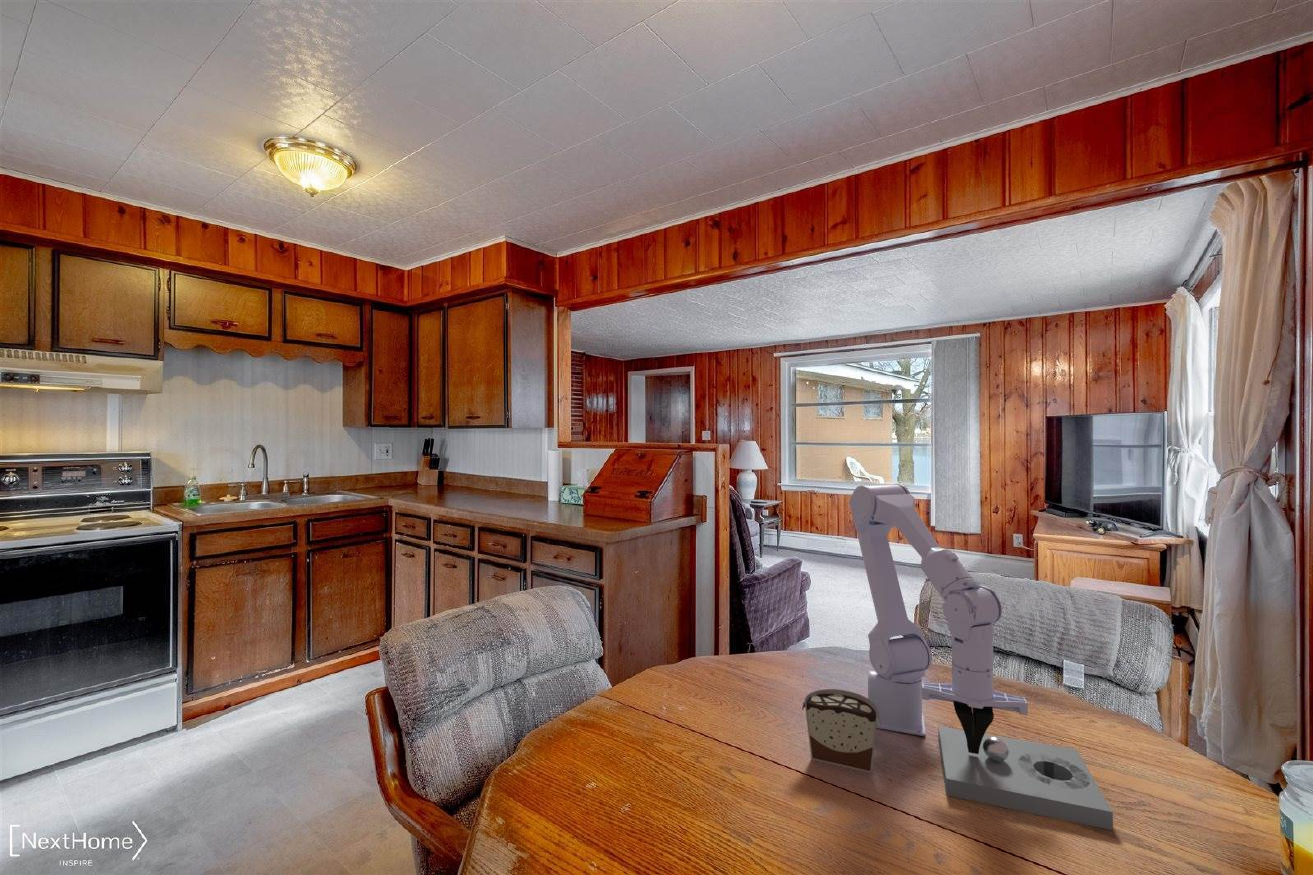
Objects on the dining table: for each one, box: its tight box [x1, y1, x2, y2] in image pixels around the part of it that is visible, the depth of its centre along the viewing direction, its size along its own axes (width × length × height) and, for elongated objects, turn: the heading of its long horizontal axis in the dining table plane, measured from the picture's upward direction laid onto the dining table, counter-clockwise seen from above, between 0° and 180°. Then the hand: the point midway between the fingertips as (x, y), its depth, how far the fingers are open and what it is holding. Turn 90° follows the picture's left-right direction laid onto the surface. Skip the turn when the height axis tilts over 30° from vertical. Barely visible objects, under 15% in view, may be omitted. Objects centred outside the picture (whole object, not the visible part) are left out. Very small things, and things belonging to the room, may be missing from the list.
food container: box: [801, 688, 881, 774], centre depth 94 cm, size 12×6×10 cm, turn 65°
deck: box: [937, 725, 1114, 831], centre depth 87 cm, size 20×16×2 cm
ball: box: [983, 735, 1009, 762], centre depth 88 cm, size 4×4×4 cm
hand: (972, 750), depth 89 cm, fingers closed
